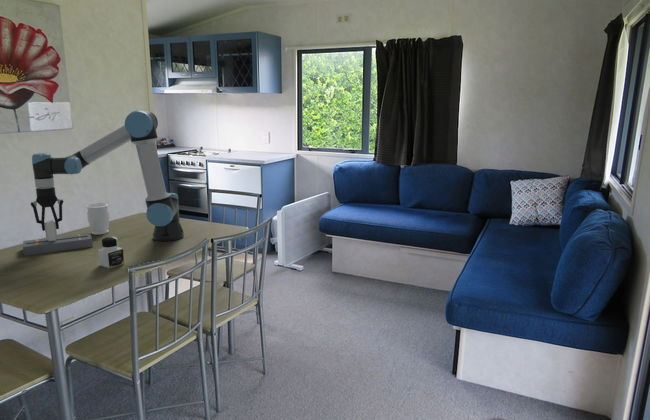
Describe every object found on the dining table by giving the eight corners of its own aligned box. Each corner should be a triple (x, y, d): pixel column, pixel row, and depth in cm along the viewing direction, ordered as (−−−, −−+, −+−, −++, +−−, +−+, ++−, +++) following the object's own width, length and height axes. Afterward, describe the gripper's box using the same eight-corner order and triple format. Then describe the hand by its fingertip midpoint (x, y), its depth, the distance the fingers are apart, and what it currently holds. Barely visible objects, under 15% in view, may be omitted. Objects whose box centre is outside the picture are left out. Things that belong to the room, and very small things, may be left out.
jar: (102, 236, 243) (99, 207, 239) (84, 234, 245) (81, 206, 241) (115, 230, 253) (112, 203, 249) (98, 229, 255) (95, 202, 251)
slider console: (90, 240, 235) (89, 232, 234) (92, 246, 225) (91, 238, 224) (24, 249, 221) (23, 240, 220) (23, 255, 211) (22, 246, 210)
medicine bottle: (109, 268, 197) (106, 241, 194) (99, 265, 200) (96, 238, 198) (124, 263, 203) (122, 237, 200) (114, 260, 206) (111, 234, 204)
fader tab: (56, 241, 225) (53, 219, 222) (56, 245, 220) (53, 222, 217) (48, 242, 223) (45, 219, 220) (49, 246, 218) (46, 222, 215)
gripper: (64, 184, 222) (70, 232, 228) (24, 187, 214) (31, 236, 220) (65, 187, 216) (71, 236, 221) (24, 190, 208) (31, 240, 213)
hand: (51, 236), depth 220 cm, fingers closed on fader tab, 3 cm apart
